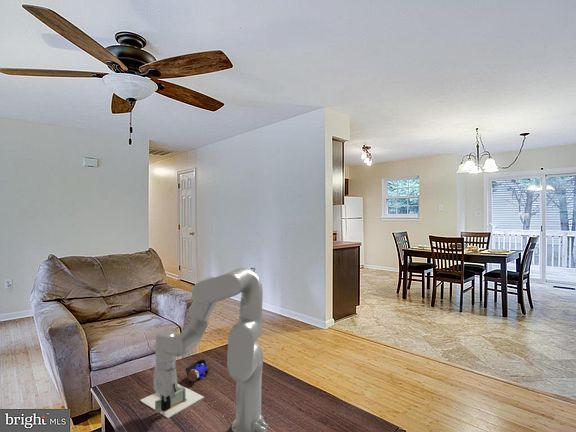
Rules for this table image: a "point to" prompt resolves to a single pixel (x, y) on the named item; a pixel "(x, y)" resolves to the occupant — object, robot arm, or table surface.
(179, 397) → the hinged fence panel
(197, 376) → the character figurine
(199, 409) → the table surface
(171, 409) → the card
